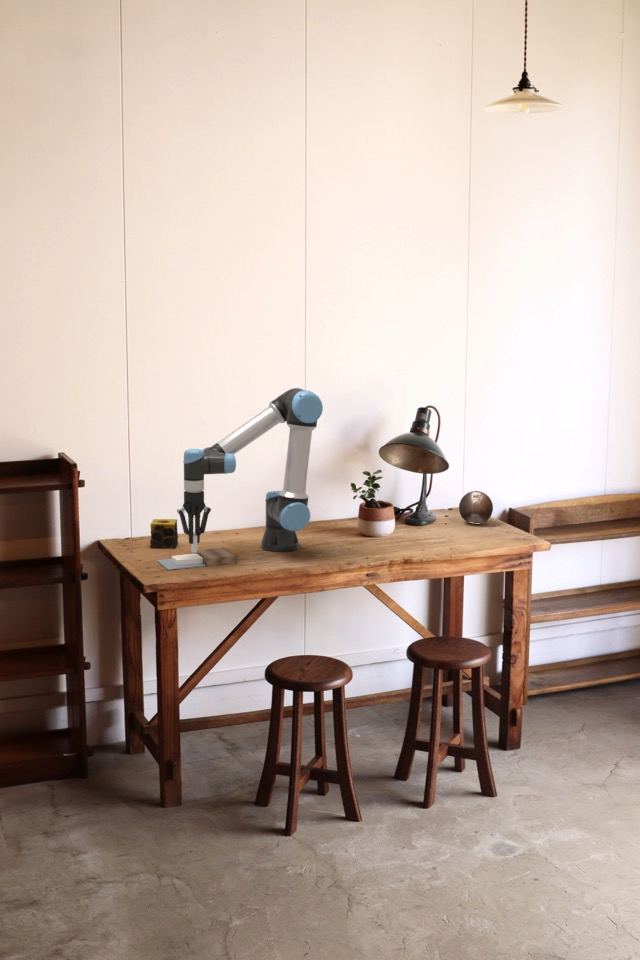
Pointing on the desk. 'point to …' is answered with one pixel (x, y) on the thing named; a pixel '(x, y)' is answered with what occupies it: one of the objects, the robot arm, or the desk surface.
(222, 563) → the deck
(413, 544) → the desk surface
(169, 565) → the mat
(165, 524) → the candle
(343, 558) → the desk surface
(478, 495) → the bronze metallic ball
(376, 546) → the desk surface
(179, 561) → the tile
